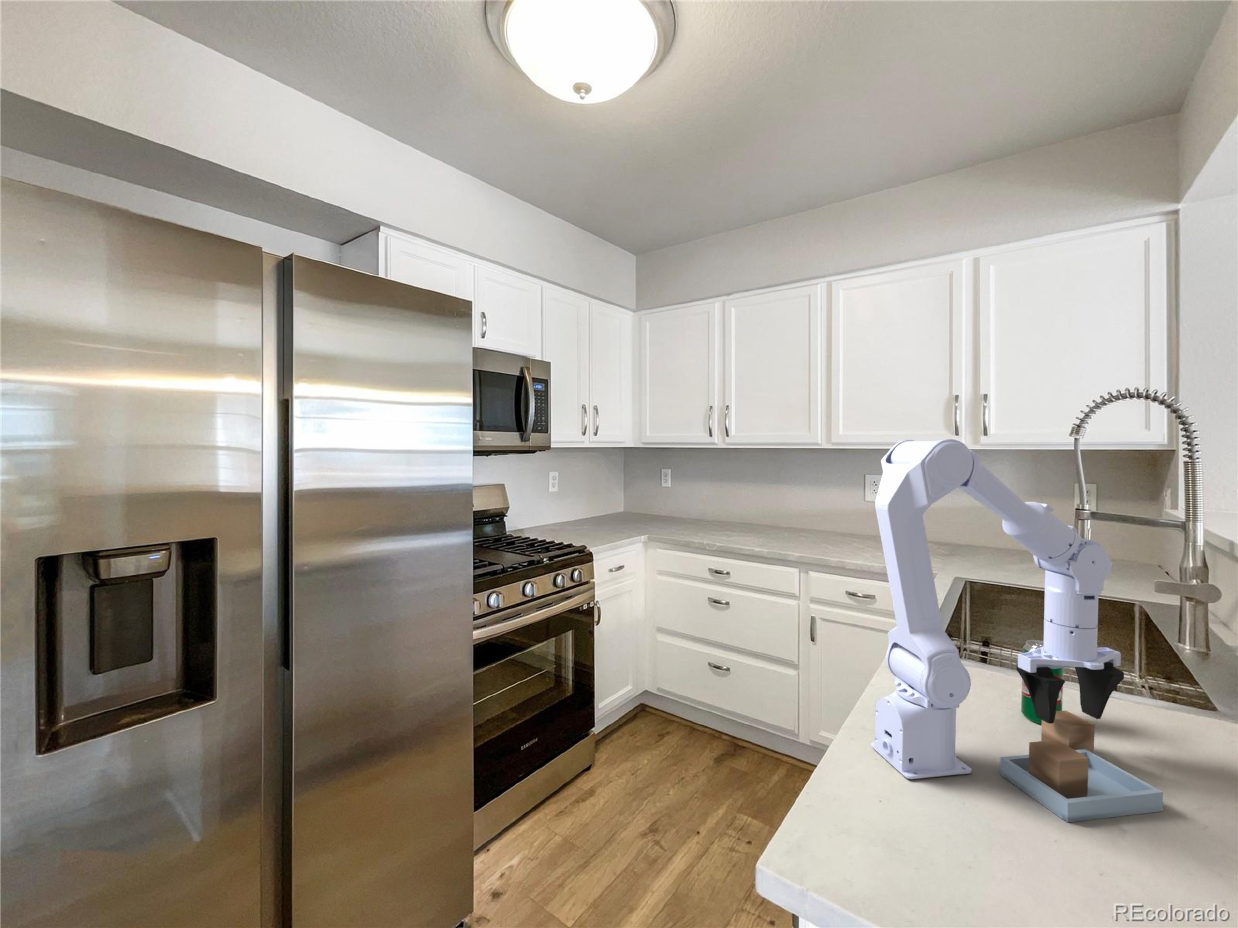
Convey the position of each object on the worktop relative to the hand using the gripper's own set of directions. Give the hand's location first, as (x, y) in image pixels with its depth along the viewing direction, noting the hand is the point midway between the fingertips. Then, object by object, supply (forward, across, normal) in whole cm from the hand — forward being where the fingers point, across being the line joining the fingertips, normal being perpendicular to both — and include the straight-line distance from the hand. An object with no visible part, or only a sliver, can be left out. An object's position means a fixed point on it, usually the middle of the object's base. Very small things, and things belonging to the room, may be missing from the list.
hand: (1067, 717), depth 74 cm
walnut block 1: (+5, 0, 0) cm, 5 cm away
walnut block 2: (+4, -10, -8) cm, 13 cm away
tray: (+5, -7, -8) cm, 11 cm away
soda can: (+5, +5, +8) cm, 11 cm away
